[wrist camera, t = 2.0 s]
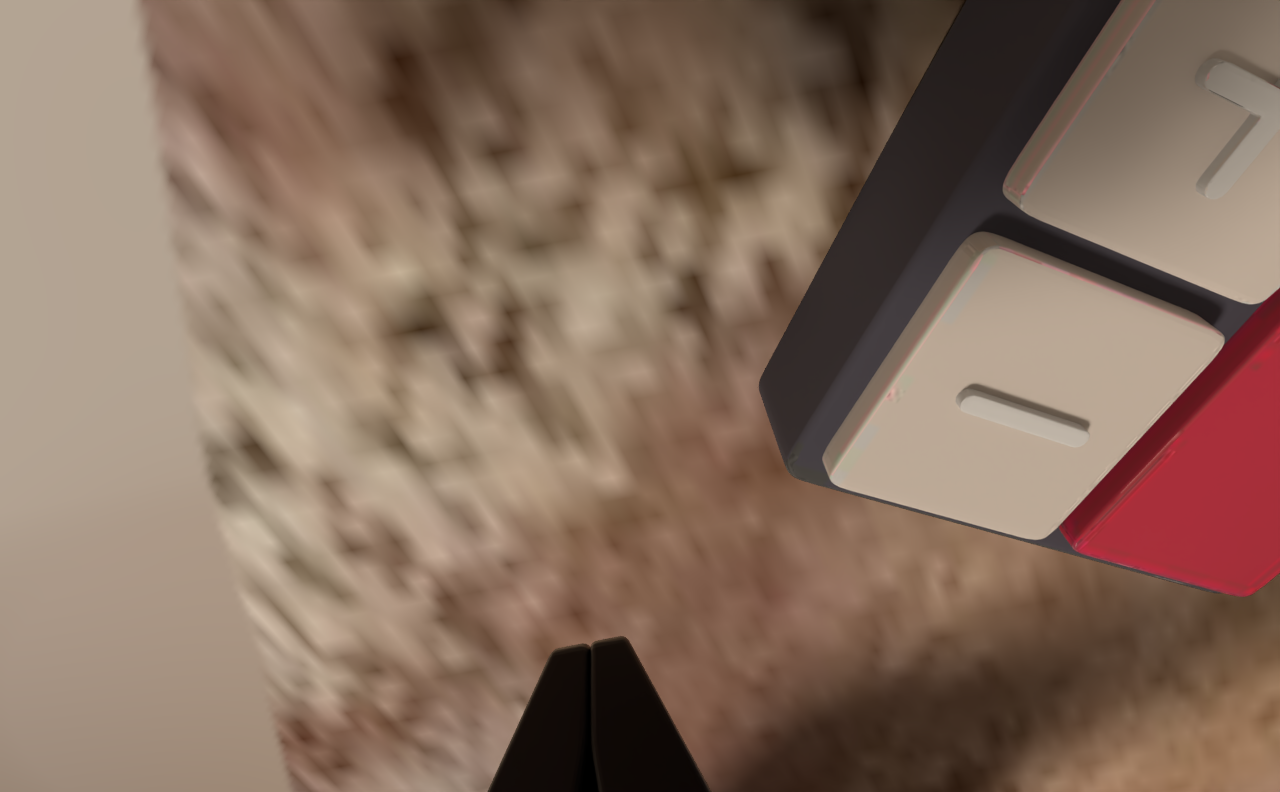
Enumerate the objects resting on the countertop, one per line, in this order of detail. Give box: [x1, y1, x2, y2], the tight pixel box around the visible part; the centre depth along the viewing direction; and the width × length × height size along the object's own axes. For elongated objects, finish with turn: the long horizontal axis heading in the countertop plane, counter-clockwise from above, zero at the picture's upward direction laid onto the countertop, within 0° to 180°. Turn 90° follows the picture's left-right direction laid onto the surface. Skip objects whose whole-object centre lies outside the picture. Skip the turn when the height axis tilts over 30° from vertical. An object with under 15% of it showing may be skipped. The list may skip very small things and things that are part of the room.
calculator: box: [759, 0, 1280, 597], centre depth 13 cm, size 11×4×15 cm
